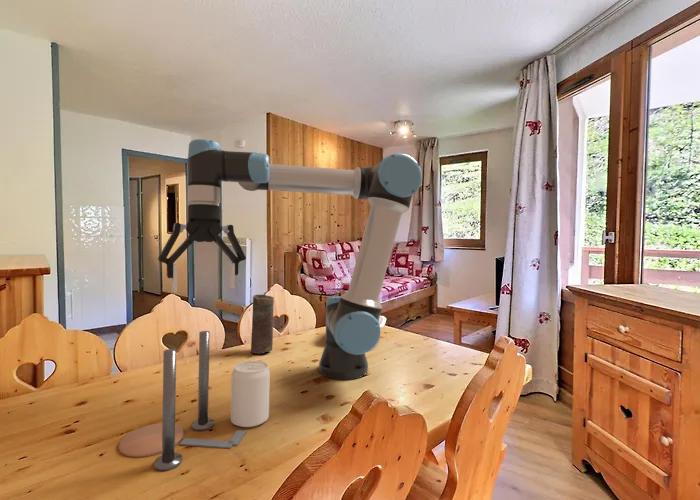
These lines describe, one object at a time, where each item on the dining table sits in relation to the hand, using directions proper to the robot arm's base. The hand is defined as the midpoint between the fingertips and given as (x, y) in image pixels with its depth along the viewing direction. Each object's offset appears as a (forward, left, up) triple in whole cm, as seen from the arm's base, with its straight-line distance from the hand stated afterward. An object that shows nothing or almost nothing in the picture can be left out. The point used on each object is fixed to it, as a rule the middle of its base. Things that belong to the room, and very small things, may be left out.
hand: (204, 289), depth 90 cm
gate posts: (-7, +20, -27) cm, 34 cm away
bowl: (-37, -58, -27) cm, 74 cm away
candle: (-4, -37, -27) cm, 46 cm away
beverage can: (-16, +10, -27) cm, 33 cm away
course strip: (-11, +18, -27) cm, 34 cm away
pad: (0, +20, -27) cm, 34 cm away
